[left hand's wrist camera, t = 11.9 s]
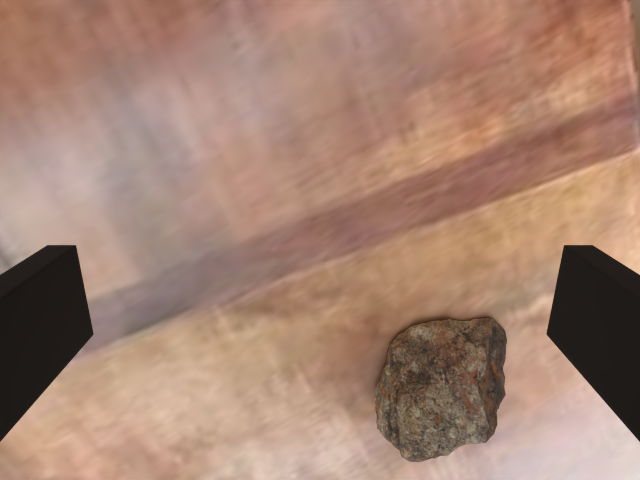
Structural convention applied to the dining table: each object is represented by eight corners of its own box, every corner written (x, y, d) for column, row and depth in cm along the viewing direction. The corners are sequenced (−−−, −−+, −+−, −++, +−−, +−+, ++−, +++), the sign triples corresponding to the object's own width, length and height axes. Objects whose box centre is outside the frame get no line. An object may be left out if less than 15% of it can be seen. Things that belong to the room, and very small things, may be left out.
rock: (504, 380, 48) (496, 298, 45) (549, 440, 40) (543, 346, 37) (372, 412, 48) (354, 332, 45) (390, 478, 40) (370, 388, 37)
